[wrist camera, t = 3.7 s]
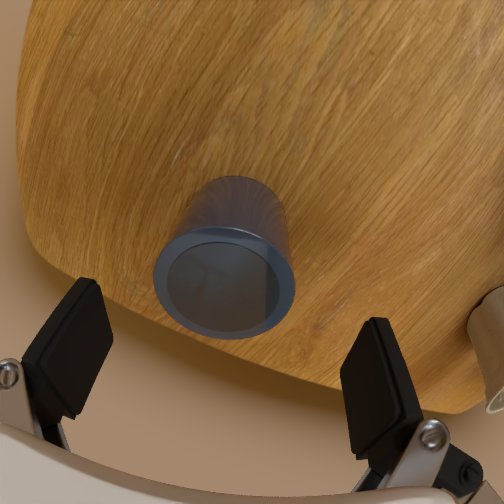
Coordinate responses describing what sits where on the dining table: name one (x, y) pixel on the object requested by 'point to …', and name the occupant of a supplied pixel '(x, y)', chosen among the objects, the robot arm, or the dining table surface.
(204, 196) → the tumbler
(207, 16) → the dining table surface
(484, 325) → the flower pot
